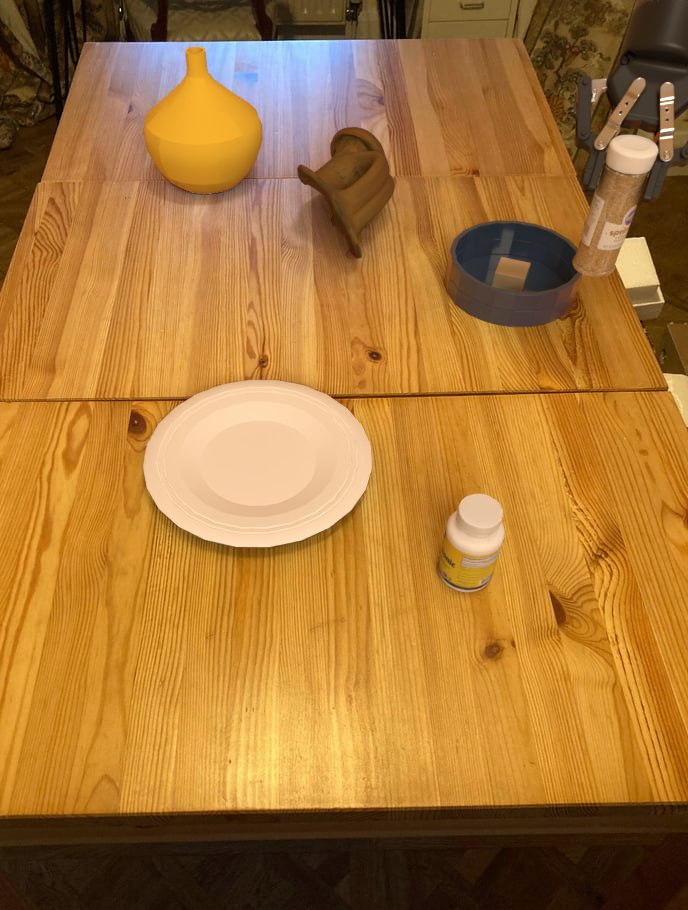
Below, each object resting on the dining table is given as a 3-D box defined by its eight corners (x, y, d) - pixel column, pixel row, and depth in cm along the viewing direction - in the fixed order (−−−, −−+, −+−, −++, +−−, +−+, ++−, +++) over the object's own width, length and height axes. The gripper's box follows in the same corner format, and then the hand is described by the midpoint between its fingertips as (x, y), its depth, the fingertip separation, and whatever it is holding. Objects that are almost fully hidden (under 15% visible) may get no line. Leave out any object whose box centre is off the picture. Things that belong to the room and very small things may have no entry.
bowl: (558, 255, 111) (568, 220, 107) (585, 331, 100) (597, 295, 96) (438, 254, 111) (444, 219, 107) (452, 330, 100) (459, 294, 96)
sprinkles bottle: (607, 284, 82) (653, 159, 71) (565, 271, 83) (604, 147, 72) (618, 262, 84) (664, 139, 73) (577, 250, 85) (617, 128, 75)
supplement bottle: (434, 548, 78) (448, 485, 70) (488, 550, 78) (508, 487, 70) (438, 593, 75) (453, 532, 67) (494, 595, 75) (516, 534, 67)
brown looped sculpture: (235, 185, 109) (321, 104, 117) (269, 263, 118) (347, 182, 126) (336, 187, 98) (423, 96, 106) (365, 273, 107) (444, 183, 115)
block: (495, 282, 106) (501, 256, 103) (524, 288, 105) (531, 262, 102) (488, 298, 104) (494, 272, 101) (518, 304, 103) (525, 279, 100)
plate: (117, 543, 78) (113, 531, 77) (176, 381, 94) (174, 369, 93) (360, 570, 76) (362, 559, 75) (379, 400, 92) (380, 388, 90)
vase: (136, 203, 120) (112, 71, 105) (169, 147, 131) (152, 22, 117) (250, 214, 118) (243, 82, 103) (274, 157, 129) (270, 30, 115)
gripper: (601, -17, 70) (545, 172, 73) (767, 4, 67) (703, 201, 70) (592, 27, 78) (541, 198, 80) (741, 48, 75) (684, 225, 77)
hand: (617, 198), depth 75 cm, fingers closed on sprinkles bottle, 4 cm apart
